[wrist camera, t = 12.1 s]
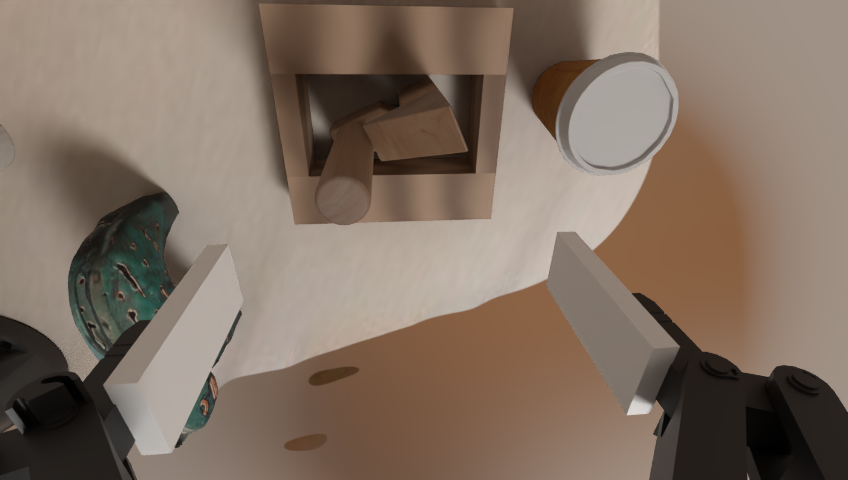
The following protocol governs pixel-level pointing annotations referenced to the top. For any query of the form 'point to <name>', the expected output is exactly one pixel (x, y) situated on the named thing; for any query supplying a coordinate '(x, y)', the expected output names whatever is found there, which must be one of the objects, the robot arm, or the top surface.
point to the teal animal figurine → (130, 284)
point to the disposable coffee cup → (607, 110)
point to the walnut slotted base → (392, 54)
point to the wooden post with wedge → (383, 147)
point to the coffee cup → (5, 149)
